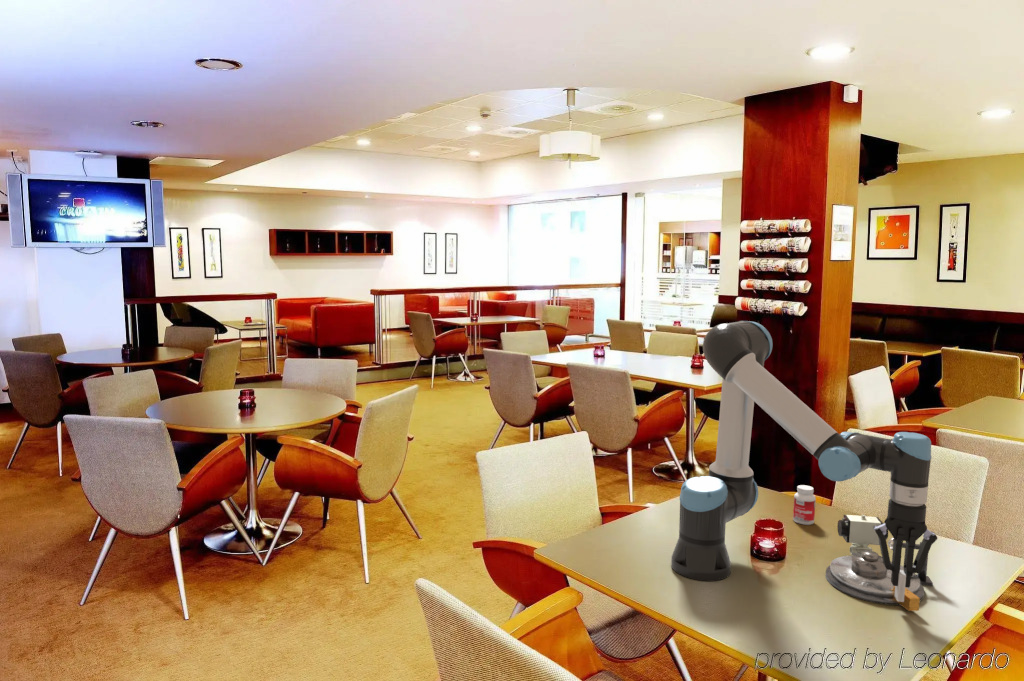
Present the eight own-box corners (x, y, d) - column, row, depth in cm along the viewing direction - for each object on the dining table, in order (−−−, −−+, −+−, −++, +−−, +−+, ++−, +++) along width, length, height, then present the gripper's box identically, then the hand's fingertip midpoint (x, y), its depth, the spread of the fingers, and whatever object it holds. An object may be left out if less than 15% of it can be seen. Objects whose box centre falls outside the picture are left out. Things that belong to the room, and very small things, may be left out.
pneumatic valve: (886, 562, 186) (889, 519, 185) (839, 558, 189) (842, 516, 187) (879, 554, 192) (882, 512, 190) (834, 550, 194) (837, 509, 193)
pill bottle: (791, 523, 214) (793, 488, 213) (793, 516, 220) (795, 483, 218) (813, 526, 211) (815, 491, 210) (814, 520, 217) (817, 486, 215)
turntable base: (832, 597, 167) (833, 592, 166) (819, 560, 188) (820, 555, 187) (935, 611, 160) (936, 606, 160) (910, 570, 181) (911, 566, 181)
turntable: (872, 612, 158) (873, 599, 157) (815, 563, 183) (815, 552, 183) (955, 609, 159) (956, 597, 159) (887, 561, 185) (887, 550, 184)
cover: (862, 580, 169) (864, 560, 169) (844, 565, 177) (846, 547, 177) (894, 579, 170) (895, 559, 169) (874, 564, 178) (875, 546, 177)
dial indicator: (887, 580, 176) (890, 540, 174) (884, 573, 180) (886, 534, 178) (932, 586, 173) (935, 545, 172) (927, 579, 177) (931, 539, 175)
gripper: (879, 503, 156) (871, 602, 158) (944, 509, 152) (935, 611, 155) (872, 492, 163) (865, 587, 165) (934, 498, 159) (925, 595, 162)
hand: (899, 598), depth 160 cm, fingers closed
